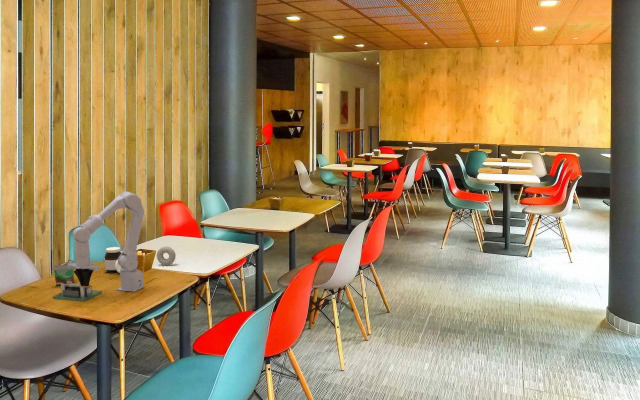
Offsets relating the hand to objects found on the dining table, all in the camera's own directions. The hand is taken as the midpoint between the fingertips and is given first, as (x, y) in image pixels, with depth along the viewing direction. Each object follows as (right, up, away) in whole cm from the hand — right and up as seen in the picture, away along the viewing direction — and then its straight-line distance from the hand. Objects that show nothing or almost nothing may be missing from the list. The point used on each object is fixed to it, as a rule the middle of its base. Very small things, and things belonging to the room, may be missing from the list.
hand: (84, 285), depth 260 cm
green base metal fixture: (-4, -5, +2) cm, 6 cm away
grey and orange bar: (-4, -1, +1) cm, 4 cm away
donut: (+22, +3, +52) cm, 57 cm away
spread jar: (0, +1, +41) cm, 41 cm away
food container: (-16, -2, +21) cm, 26 cm away
